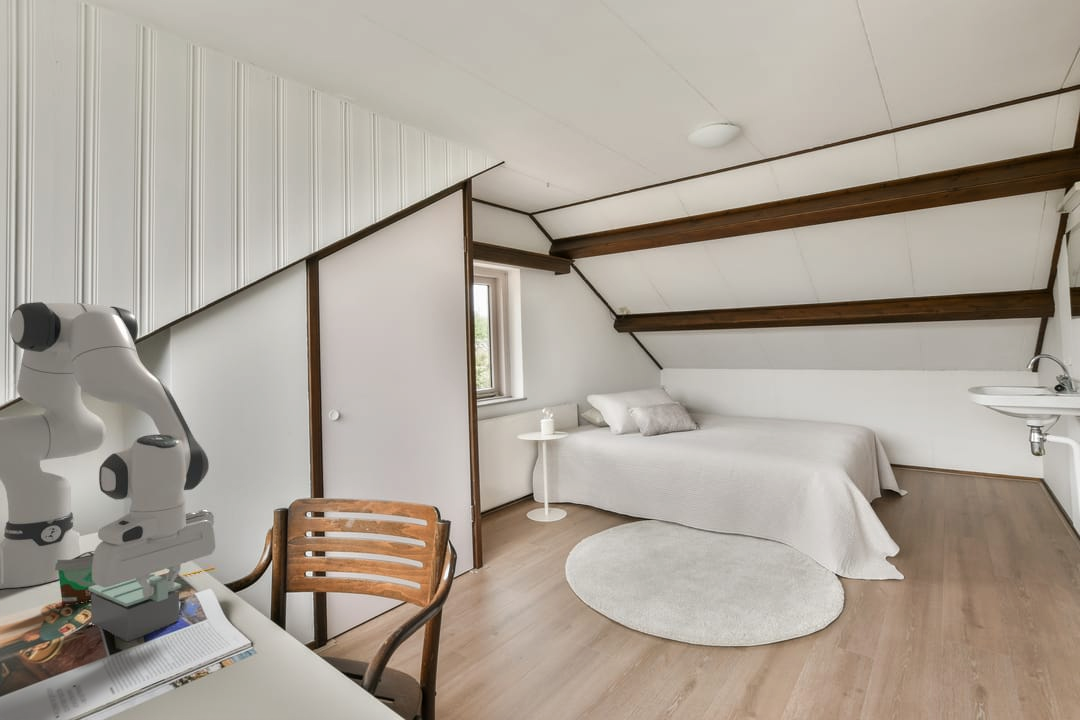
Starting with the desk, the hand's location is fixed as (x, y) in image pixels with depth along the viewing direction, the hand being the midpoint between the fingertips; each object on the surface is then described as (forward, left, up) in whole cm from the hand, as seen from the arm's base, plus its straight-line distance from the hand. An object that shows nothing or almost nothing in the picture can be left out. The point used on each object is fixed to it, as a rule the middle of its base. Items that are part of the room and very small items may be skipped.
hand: (158, 592), depth 104 cm
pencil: (-25, +15, -8) cm, 30 cm away
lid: (-7, 0, -1) cm, 7 cm away
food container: (-29, +2, -8) cm, 31 cm away
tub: (-8, 0, -8) cm, 11 cm away
